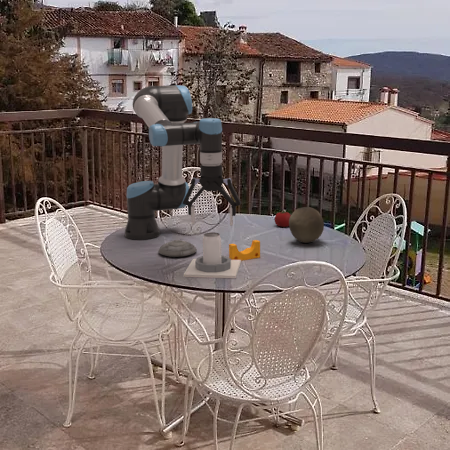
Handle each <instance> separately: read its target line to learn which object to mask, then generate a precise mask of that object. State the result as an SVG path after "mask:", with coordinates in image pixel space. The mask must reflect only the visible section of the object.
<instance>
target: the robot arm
mask: <svg viewBox="0 0 450 450" xmlns="http://www.w3.org/2000/svg"><path fill="white" fill-rule="evenodd" d="M132 109H133V111H134V114H135V115H137V116H138V118H140V119H142V120H143V121H144V123H145V125H146V126H147V127H148V139H149V143H150V145H151V146H153V147H162V148H161V149H162V150H161V151H162V153H161V154H162V159H161V176H160V177H158V183H154V181H153V180H144V181H138V182H134V183H131V184H129V185H128V186H127V187H126V206H127V222H126V225H125V229H124V237H125V238H127V239H129V240H135V241H136V240H139V241H142V240H143V241H144V240H151V239H155V238H157V237H159V236H160V235H161V232H160V230H161V229H160V227H159V224H158V222H157V219H156V214H155V213H156V212H159V211H171V210H176V211H177V210H179V209H180V210H181V209H184V208H185V207H187V215H188V216H190V217H191V219H190V220H191V221H190V222H191V226H194V225H195V223H196V218H195V217H196V216H195V215H196V214H195V213H196V212H195V210H196V209H195V204H194V203H195V202H196V200H198V198H199V197H200V195H201V194H202V193H203V192H204V191H205V192H213V193H214V192H215V193H216V192H219V193H220V194H221V195H222V197H224V199H225V200H226V201H227V203H228V204H230V206H229V226H231V227H232V226H233V225H234V217H235V216H236V214H237V207H239V206H240V205H241V204H242V201H241V199H240V197H239V195H238V192H237V191H236V189H235V187H234V185H233V180H232V178H231V177H229V178H225V179H224V177H223V165H222V164H223V133H222V132H223V125H222V120H221V119H220V118H215V117H211V118H210V117H207V118H206V117H205V118H201V119H200V120H199V121H193V122H186V121H187V120H188V115H191V114H192V113H193V101H192V96H191V92H190V90H189V89H188V87H187V86H186V85H180V84H179V85H176V84H173V85H172V84H171V85H148V86H146V87H143V88H141V89H140V90H139V91H138V92H136V94H135V95H134V97H133V99H132ZM185 145H186V146H188V145H190V146H191V145H199V161H200V162H199V163H200V165H199V167H200V170H199V172H200V174H199V175H200V178H196V177H195V176H194V177H192V179H191V183H190V185H189V183H188V182H186V179H185V178H184V177H183V153H184V152H183V148H184V147H183V146H185ZM198 183H199V184H200V185H201V188H200V189H199V190H198V191H197V192H196V194H195V195H194V196H193V197H192V199H191V200H190V197H191V194H192V193H193V191H194V189H195V186H196V185H198ZM224 183H225V185H226V186H228V189H229V191H230V194H231V195H232V196H230V195H229V193H228V192H227V191H226V190H225V188H224V187H223V184H224ZM232 197H233V198H232ZM189 200H190V201H189Z"/></svg>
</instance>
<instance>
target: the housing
mask: <svg viewBox="0 0 450 450" xmlns="http://www.w3.org/2000/svg"><path fill="white" fill-rule="evenodd" d="M241 264H242V261H241V260H231V259H230V258H229V256H227V255H226V256H225V255H222V254H221V264H215V265H212V264H203V255H202V256H200V257H197V258H192V260H191V262H190V263H189V265H188V266H187V268H186V270H185V272H184V273H183V278H200V279H201V278H203V279H207V278H208V279H209V278H210V279H211V278H212V279H236V278H237V276H238V273H239V269H240V267H241Z"/></svg>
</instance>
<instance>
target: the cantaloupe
mask: <svg viewBox="0 0 450 450" xmlns="http://www.w3.org/2000/svg"><path fill="white" fill-rule="evenodd" d="M290 215H291V216H290V218H289V226H288V227H289V230H290V233H291V235H292V236H293V237H294V239H295V240H297V241H299V242H300V243H304V244H308V243H313V242H315V241H317V240H318V239H319V238H320V237H321V236H322V234H323V233H324V232H323V231H324V229H325V223H324V219H323V217H322V215H321V213H320V211H319V210H317V209H316V208H314V207H310V206H304V207H299V208H296V209H294V211H293V212H292V213H291V214H290Z"/></svg>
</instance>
